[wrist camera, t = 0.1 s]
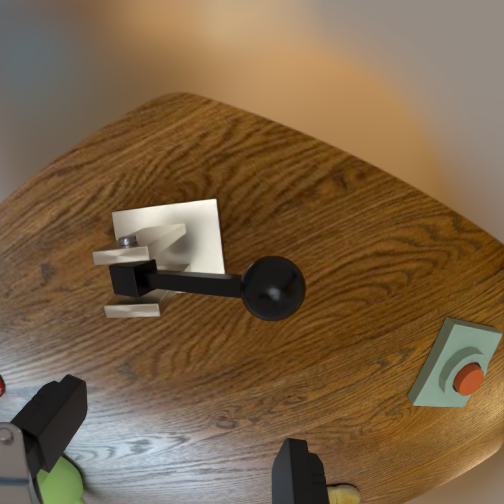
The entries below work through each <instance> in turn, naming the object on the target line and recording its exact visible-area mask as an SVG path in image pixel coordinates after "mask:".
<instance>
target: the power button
mask: <svg viewBox="0 0 504 504" xmlns="http://www.w3.org/2000/svg"><path fill="white" fill-rule="evenodd" d="M483 379H484V372H483V371H482V370H481V368H480V367H479V366H478V365H477V364H475V363H469V364H467V365H465V366H464V367H463V368H462V369H461V370H460V371H459V372H458V373H457V374H456V376H455V378H454V382H453V384H454V387H455V388H456V390H457V391H458V392H459V393H460V394H461V395H462V396H468V395H470V394H472V393H474V392H475V391H476V390H477V389H478V388H479V387H480V385H481V384H482V382H483Z"/></svg>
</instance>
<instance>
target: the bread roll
mask: <svg viewBox="0 0 504 504" xmlns="http://www.w3.org/2000/svg"><path fill="white" fill-rule="evenodd" d="M327 490H328V496H329V501H330V504H358V503H359V501H360V494H359V492H358V490H357V489H356V488H355V487H353V486H350V485H338V486H336V487H331V486H330V487H327Z"/></svg>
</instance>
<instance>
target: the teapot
mask: <svg viewBox="0 0 504 504" xmlns="http://www.w3.org/2000/svg"><path fill="white" fill-rule="evenodd" d="M37 477H38V481H39V485H40V489H41V493H42V497H43V501H44V504H86V503H85V501H84V500H83V499H82V495H83V484H82V479H81V476H80V473H79V471H78V470H77V469H76V468H75V467H74V466H73V465H72V464H71V463H70V462H69V461H67V460H66V459H65V458H63V457H62V456H60V458H59V460H58V461H57V463H56V464H55V466H54V467H53V469H52V471H51V472H50V474H49V473H48V472H46V471H44V470H42V469H41V470H40V471H39V473H38V474H37Z"/></svg>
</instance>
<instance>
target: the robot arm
mask: <svg viewBox="0 0 504 504" xmlns="http://www.w3.org/2000/svg"><path fill="white" fill-rule="evenodd" d="M87 408H88V406H87V389H86V382H85V381H84V380H81V379H79V378H77V377H74V376H72V375H70V374H68V375H66V376H65V377H64V378H63V379H62V381H61V382H60V383H58V382H56V381H52V382H50V383H48V384H46V385H44V386H43V387H42V388H41V389H40V390H39V391H38V392H37V394H35V395H34V397H33V398H32V399H31V400H30V401H29V402H28V403H27V404H26V405H25V406H24V407H23V409H22V410H21V411H20V412H19V413H18V414H17V415H16V416H15V417H14V419H13V420H12V421H11V422H10V423H8V422H0V504H44V501H43V497H42V493H41V489H40V485H39V481H38V477H37V474H38V473H39V471H40V470H41V469H42V470H44V471H46V472H48V473H49V474H50V472H51V471H52V469H53V467H54V466H55V464H56V463H57V461H58V460H59V458H60V456H61V455H62V453H63V452H64V450H65V449H66V447H67V446H68V444H69V443H70V441H71V439H72V438H73V436H74V435H75V433H76V432H77V430H78V429H79V427H80V426H81V424H82V423H83V421H84V420H85V417H86V414H87ZM324 474H325V473H324V467H323V463H322V462H321V460H320V459H319V457H318V456H317V454H313V453H308V446H307V442H306V440H300V439H292V438H286V439H285V441H284V443H283V445H282V447H281V449H280V451H279V453H278V455H277V457H276V458H275V461H274V463H273V467H272V504H330V501H329V496H328V490H327V484H326V478H325V476H324Z"/></svg>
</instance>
